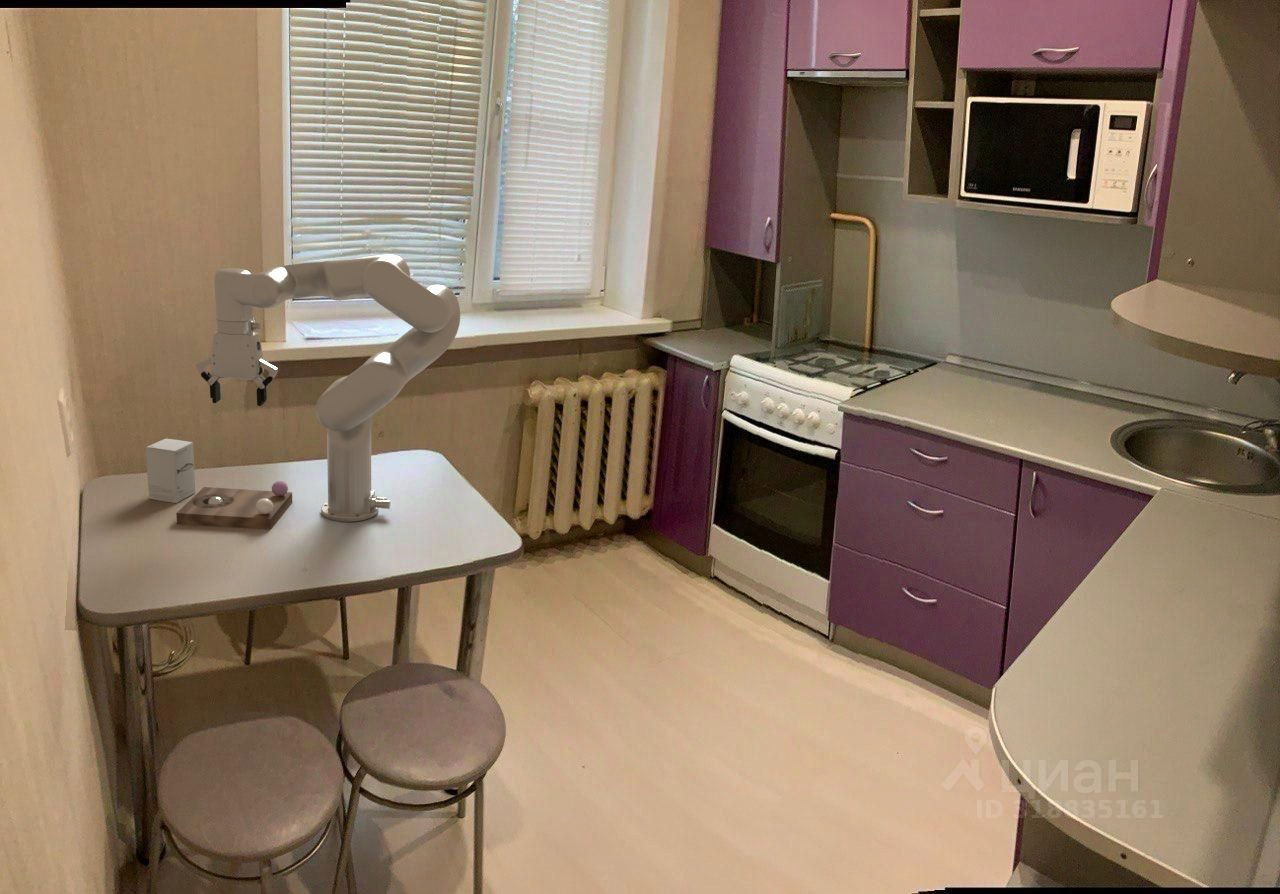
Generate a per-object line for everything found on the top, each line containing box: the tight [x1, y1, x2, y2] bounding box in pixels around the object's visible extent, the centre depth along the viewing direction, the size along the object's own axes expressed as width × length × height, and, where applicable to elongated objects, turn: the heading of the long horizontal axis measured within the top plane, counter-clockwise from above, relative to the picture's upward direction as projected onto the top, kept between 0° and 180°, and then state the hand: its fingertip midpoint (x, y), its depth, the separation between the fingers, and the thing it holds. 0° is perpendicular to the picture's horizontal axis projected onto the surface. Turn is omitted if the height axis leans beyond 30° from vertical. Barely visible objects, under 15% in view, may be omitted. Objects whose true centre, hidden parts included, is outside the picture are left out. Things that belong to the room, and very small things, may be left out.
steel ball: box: [207, 496, 224, 505], centre depth 231 cm, size 4×4×4 cm
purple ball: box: [271, 480, 289, 496], centre depth 236 cm, size 4×4×4 cm
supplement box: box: [145, 438, 196, 504], centre depth 236 cm, size 7×7×13 cm
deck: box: [176, 486, 293, 530], centre depth 232 cm, size 20×16×2 cm
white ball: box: [256, 498, 273, 514], centre depth 226 cm, size 4×4×4 cm
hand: (238, 403), depth 229 cm, fingers open, 9 cm apart
